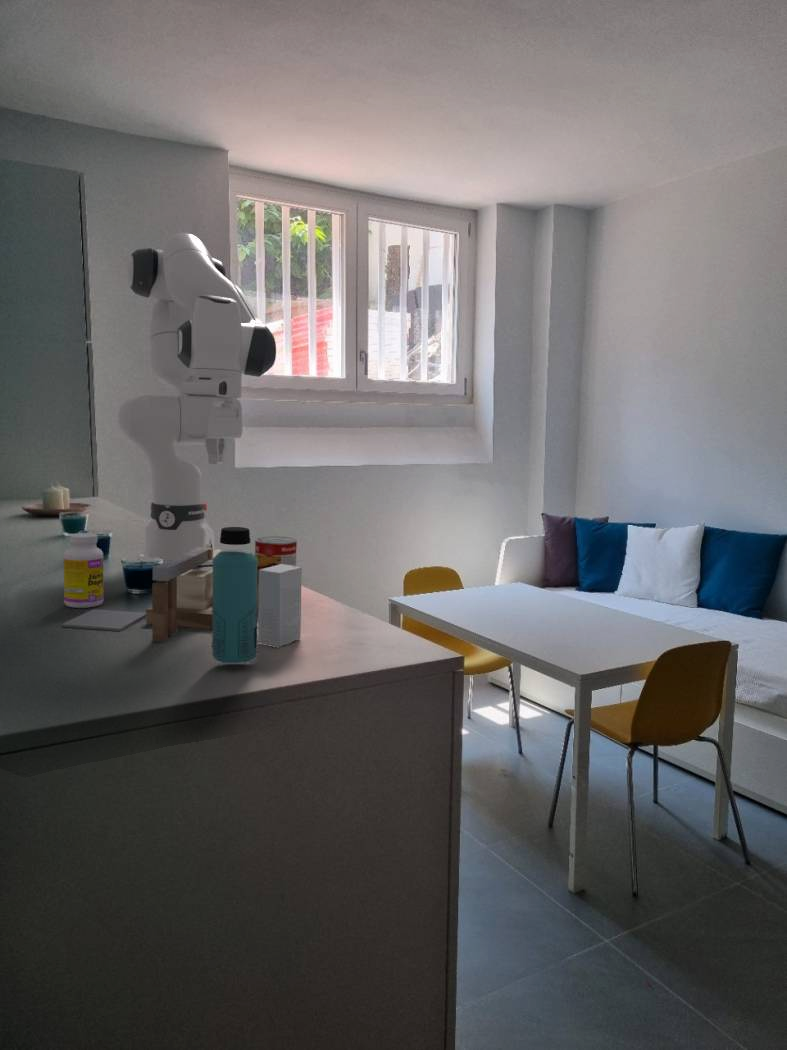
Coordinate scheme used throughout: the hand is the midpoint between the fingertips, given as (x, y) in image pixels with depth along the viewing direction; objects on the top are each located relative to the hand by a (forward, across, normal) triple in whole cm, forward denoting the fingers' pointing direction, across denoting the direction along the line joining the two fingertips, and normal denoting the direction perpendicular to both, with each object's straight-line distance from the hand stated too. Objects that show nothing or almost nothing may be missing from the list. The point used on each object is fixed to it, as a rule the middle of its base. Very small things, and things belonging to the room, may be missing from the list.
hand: (215, 463), depth 136 cm
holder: (+26, +14, 0) cm, 30 cm away
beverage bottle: (+27, +33, +15) cm, 45 cm away
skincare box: (+27, +20, +18) cm, 38 cm away
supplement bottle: (+27, +7, -22) cm, 35 cm away
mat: (+26, +16, -13) cm, 33 cm away
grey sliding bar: (+17, +14, 0) cm, 22 cm away
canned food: (+27, -6, +10) cm, 29 cm away
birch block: (+26, +10, 0) cm, 28 cm away
